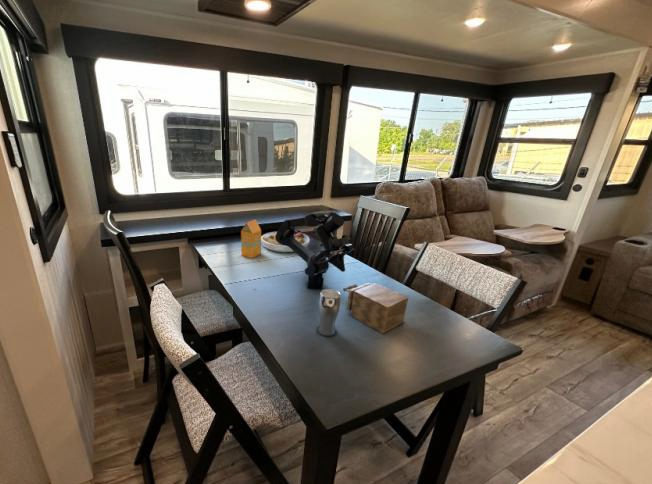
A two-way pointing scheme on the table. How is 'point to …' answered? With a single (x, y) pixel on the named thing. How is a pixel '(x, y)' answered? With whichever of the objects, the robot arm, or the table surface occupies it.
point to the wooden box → (379, 307)
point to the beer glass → (328, 311)
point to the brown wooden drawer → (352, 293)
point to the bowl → (271, 244)
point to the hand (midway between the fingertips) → (343, 271)
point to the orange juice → (251, 239)
